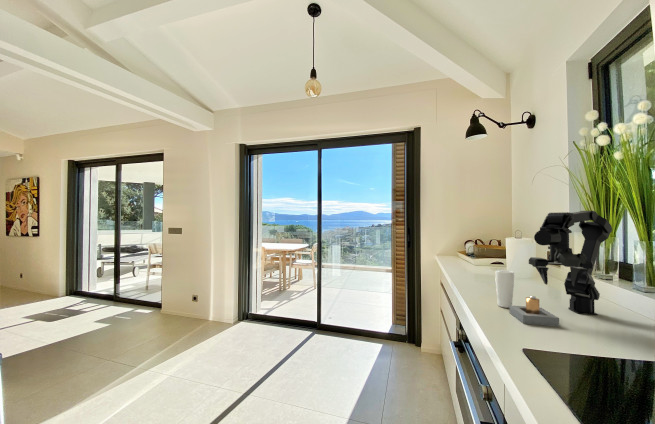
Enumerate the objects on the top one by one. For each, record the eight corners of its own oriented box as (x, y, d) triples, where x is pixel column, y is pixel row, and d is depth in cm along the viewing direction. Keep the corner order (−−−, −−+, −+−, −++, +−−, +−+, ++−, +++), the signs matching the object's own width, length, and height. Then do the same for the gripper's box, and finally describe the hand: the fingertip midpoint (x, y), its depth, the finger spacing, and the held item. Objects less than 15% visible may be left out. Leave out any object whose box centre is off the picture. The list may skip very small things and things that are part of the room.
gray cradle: (541, 315, 103) (541, 307, 103) (559, 326, 93) (559, 317, 93) (509, 312, 106) (509, 305, 106) (523, 323, 95) (523, 315, 95)
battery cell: (536, 316, 101) (535, 295, 101) (541, 320, 97) (541, 298, 97) (523, 315, 102) (523, 294, 102) (529, 319, 98) (529, 297, 98)
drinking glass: (517, 309, 110) (517, 273, 110) (499, 308, 111) (499, 272, 111) (509, 304, 116) (509, 270, 117) (492, 303, 118) (492, 269, 118)
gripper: (543, 246, 97) (543, 288, 97) (605, 247, 93) (605, 292, 93) (527, 243, 108) (528, 281, 108) (582, 244, 104) (582, 284, 104)
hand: (559, 285), depth 103 cm, fingers open, 9 cm apart
